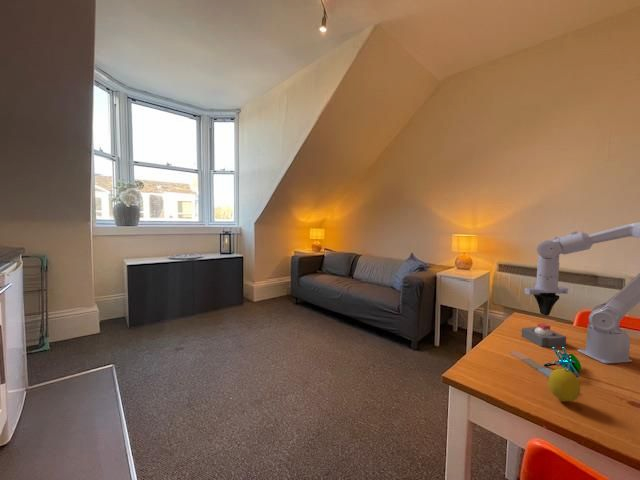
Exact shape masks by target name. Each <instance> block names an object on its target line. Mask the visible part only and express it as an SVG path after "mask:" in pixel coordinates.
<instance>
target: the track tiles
mask: <svg viewBox="0 0 640 480" xmlns="http://www.w3.org/2000/svg"><path fill="white" fill-rule="evenodd" d="M508 354H509V355H510V356H511V355H512V356H513V357H514V358H516V359H518V360H519V361H521V362H523V364H525V365H527V366H529V367H531V368H532V369H534V370H535V371H537V372H538V373H540V374H542V375H543V376H545V377H547V378H548V379H549V377H550V374H551V373H552V372H553V371H554V370H551V369H549V368H548V367H544V365H542V364H541V363H539V362H538V361H536V360H534V359H532V358H531V357H529V356H527V355H526V354H524V353H522V352H520V351H519V350H510V351H508Z"/></svg>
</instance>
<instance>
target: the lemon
mask: <svg viewBox="0 0 640 480" xmlns="http://www.w3.org/2000/svg"><path fill="white" fill-rule="evenodd" d="M552 371H553V372H552V373H551V374H550V377H549V378H548V388H549V390H550V392H551V393H552V395H554V396H555V397H556V398H557V399H559V400H560V401H561V402H563V403H564V402H573V401H576V400H577V399H578V398H579V396H580V393H581V384H580V381H579V379H578V378H579V377H576V376H577V375H576V374H575V373H574V372H571V371H570V370H567V368H563V367H562V368H557V369H554V370H552Z"/></svg>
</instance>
